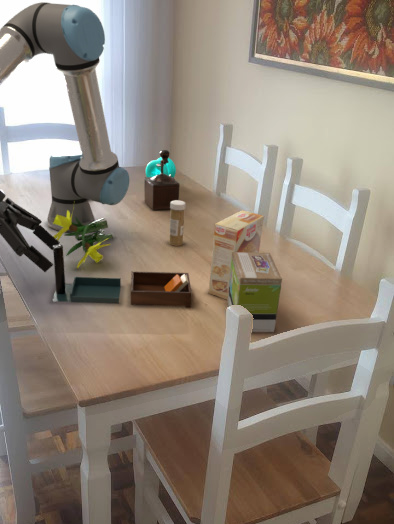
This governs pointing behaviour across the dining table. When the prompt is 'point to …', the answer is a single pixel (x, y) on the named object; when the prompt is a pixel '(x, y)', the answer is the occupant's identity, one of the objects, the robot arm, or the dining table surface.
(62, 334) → the dining table surface
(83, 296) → the green tray with post
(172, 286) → the sachet orange
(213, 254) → the coffeecake box
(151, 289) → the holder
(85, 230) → the daffodil flowers
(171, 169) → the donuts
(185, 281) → the block
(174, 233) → the spice jar
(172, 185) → the wooden coffee grinder
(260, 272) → the tea box
